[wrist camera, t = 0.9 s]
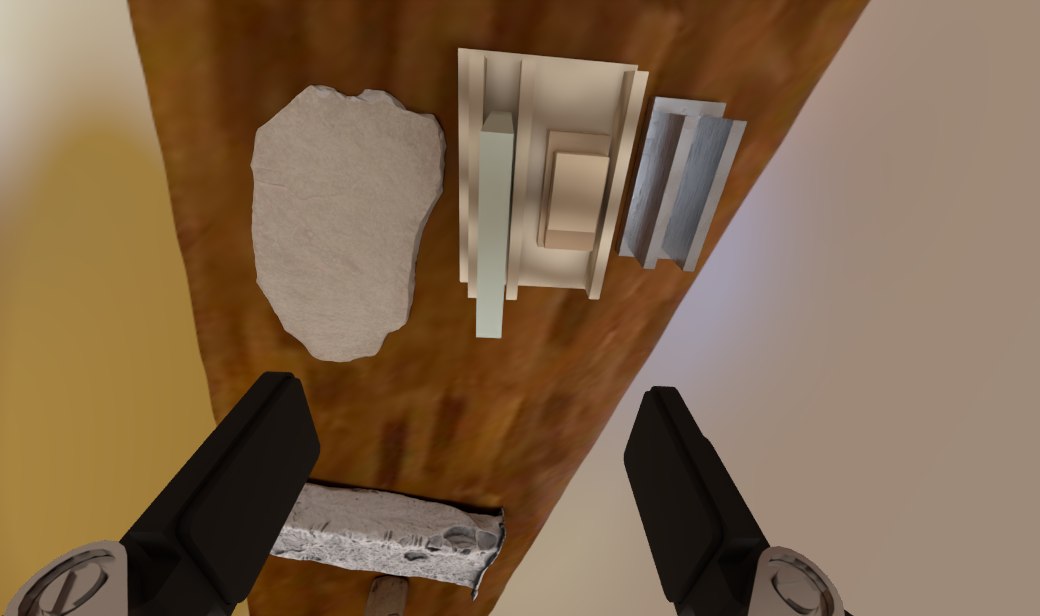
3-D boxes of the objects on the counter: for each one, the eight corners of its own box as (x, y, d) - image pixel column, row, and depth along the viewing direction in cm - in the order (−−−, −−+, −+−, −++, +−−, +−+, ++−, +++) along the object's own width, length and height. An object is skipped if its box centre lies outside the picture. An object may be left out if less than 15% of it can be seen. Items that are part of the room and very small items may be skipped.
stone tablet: (463, 122, 32) (459, 124, 30) (394, 367, 47) (389, 380, 44) (260, 37, 29) (240, 33, 27) (253, 329, 43) (240, 342, 41)
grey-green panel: (491, 110, 30) (479, 131, 17) (511, 112, 30) (513, 133, 17) (487, 247, 36) (476, 336, 24) (503, 248, 36) (500, 338, 24)
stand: (649, 96, 31) (680, 99, 26) (717, 102, 32) (762, 106, 26) (614, 249, 38) (632, 277, 33) (670, 253, 39) (697, 281, 33)
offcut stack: (548, 128, 31) (553, 135, 27) (606, 133, 31) (620, 140, 27) (536, 241, 36) (539, 259, 32) (586, 244, 36) (595, 263, 33)
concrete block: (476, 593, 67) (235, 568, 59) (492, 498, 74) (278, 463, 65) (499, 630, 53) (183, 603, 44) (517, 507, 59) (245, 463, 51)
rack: (460, 49, 29) (451, 43, 24) (632, 65, 30) (655, 62, 25) (461, 275, 40) (455, 301, 35) (589, 282, 40) (600, 308, 36)
